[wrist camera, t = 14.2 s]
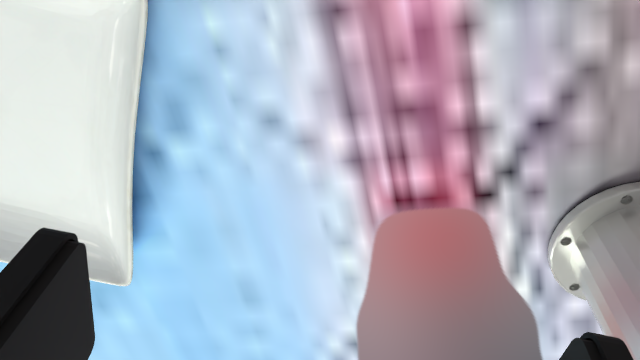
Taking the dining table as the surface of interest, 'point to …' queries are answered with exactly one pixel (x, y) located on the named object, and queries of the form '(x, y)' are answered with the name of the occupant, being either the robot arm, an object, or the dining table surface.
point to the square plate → (70, 125)
